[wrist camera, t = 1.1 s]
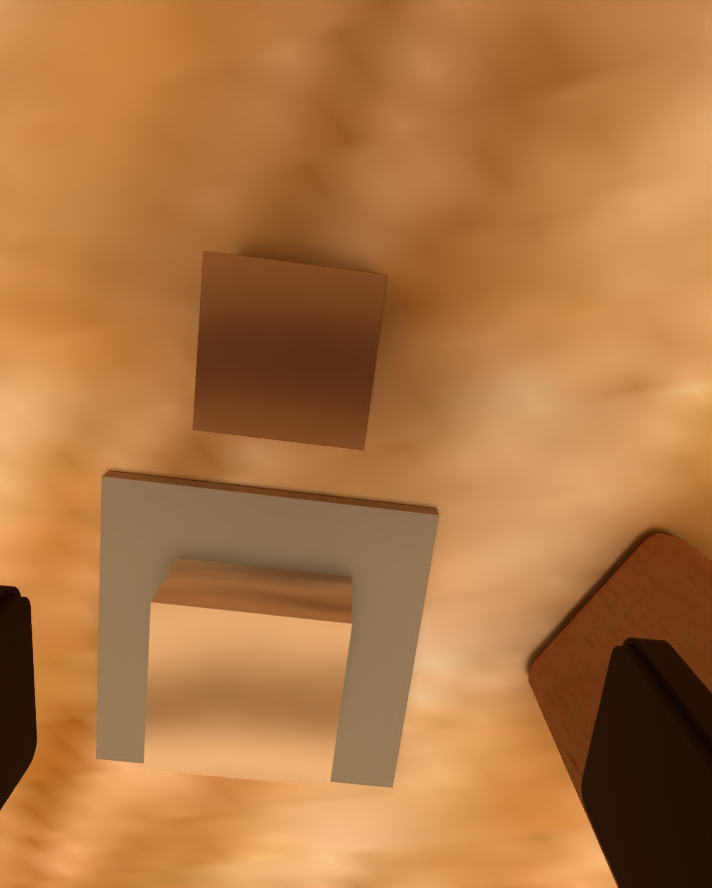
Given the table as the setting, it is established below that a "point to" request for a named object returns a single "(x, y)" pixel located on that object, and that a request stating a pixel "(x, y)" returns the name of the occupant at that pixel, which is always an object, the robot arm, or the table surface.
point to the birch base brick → (246, 672)
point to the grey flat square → (272, 546)
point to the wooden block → (613, 621)
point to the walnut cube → (286, 350)
